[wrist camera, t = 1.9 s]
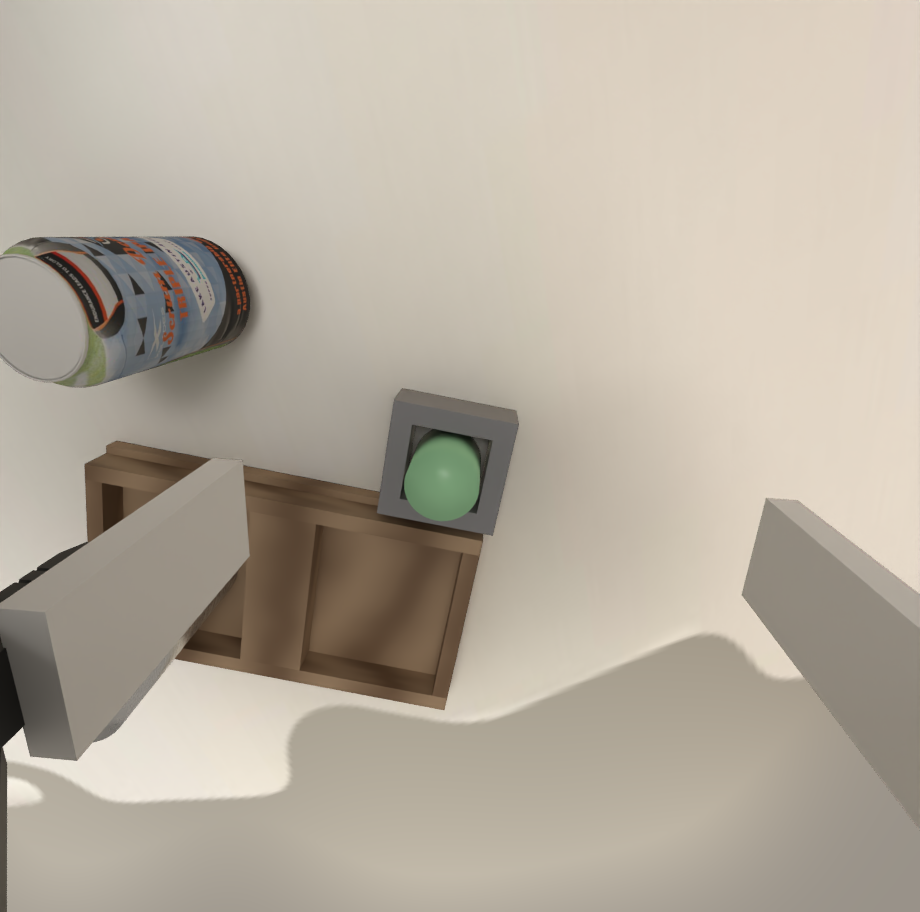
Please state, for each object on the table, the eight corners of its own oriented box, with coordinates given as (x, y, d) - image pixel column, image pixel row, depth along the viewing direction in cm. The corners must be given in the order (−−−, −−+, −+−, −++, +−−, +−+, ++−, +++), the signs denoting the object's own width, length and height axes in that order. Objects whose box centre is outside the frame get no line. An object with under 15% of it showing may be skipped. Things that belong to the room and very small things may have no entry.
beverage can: (280, 318, 33) (168, 349, 21) (178, 372, 34) (22, 426, 23) (220, 213, 31) (65, 186, 20) (116, 274, 32) (-86, 280, 21)
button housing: (385, 493, 36) (376, 513, 33) (402, 388, 34) (394, 399, 31) (492, 514, 36) (492, 535, 33) (516, 410, 34) (518, 424, 31)
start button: (410, 482, 35) (398, 513, 30) (420, 421, 33) (410, 444, 29) (473, 494, 35) (471, 527, 30) (486, 434, 33) (486, 459, 29)
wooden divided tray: (119, 622, 40) (91, 649, 38) (116, 440, 36) (84, 456, 33) (446, 684, 41) (443, 716, 38) (484, 512, 36) (484, 533, 33)
